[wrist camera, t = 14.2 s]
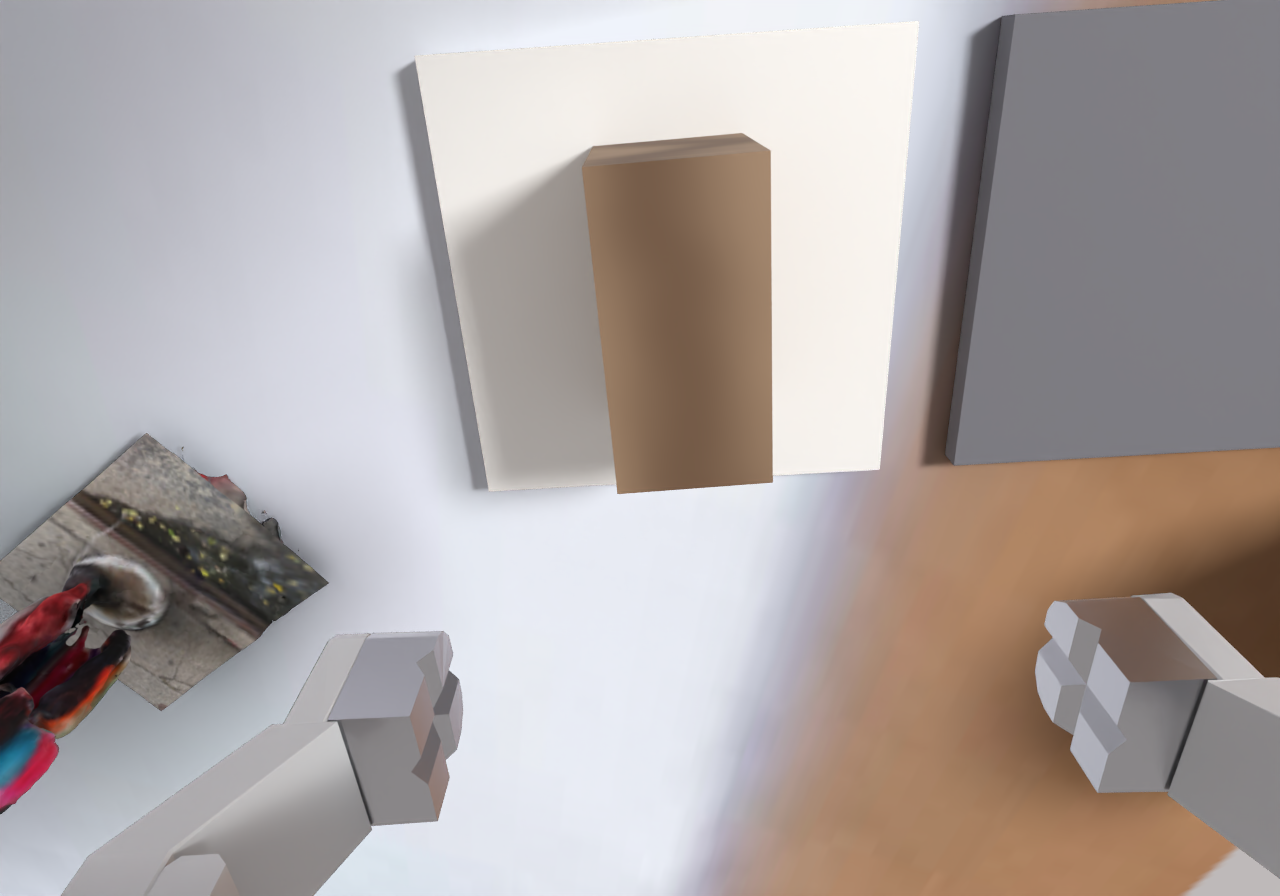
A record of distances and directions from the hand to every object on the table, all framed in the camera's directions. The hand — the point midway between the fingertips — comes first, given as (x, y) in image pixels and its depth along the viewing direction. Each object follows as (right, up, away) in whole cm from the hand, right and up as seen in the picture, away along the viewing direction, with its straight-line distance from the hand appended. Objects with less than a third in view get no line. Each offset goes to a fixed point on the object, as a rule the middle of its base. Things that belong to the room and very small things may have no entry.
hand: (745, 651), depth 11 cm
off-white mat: (0, +9, +18) cm, 20 cm away
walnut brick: (0, +9, +17) cm, 19 cm away
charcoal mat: (+19, +10, +18) cm, 28 cm away
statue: (-22, -2, +24) cm, 33 cm away
